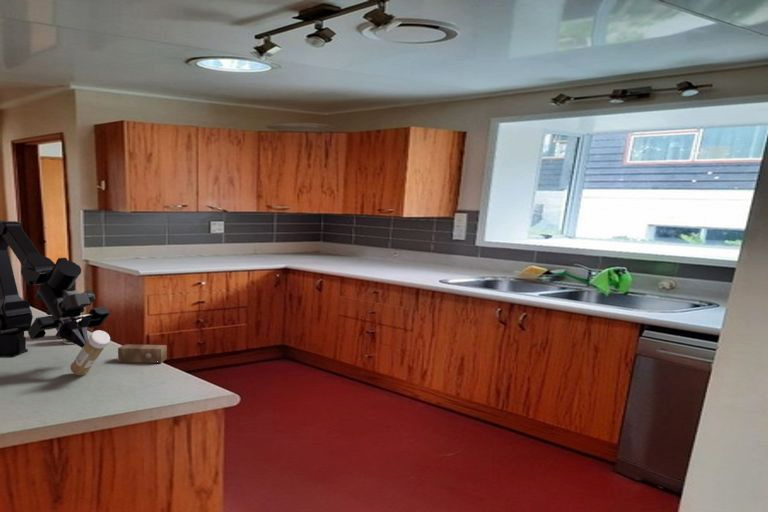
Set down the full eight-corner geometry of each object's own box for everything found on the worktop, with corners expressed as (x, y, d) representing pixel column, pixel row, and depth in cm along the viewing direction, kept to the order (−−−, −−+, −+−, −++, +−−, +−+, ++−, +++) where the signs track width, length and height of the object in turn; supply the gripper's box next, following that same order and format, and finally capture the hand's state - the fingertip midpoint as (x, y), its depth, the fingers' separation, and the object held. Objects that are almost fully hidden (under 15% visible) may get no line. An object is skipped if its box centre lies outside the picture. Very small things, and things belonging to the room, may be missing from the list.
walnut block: (117, 348, 141) (160, 349, 142) (124, 344, 145) (166, 345, 146) (117, 362, 141) (160, 363, 142) (124, 358, 146) (166, 359, 146)
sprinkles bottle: (87, 377, 130) (110, 345, 125) (68, 374, 127) (90, 341, 122) (89, 363, 133) (111, 331, 128) (70, 359, 130) (92, 327, 125)
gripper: (33, 285, 121) (63, 335, 117) (104, 277, 138) (133, 321, 134) (15, 314, 125) (43, 363, 121) (86, 303, 142) (113, 346, 138)
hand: (86, 347), depth 128 cm, fingers closed
